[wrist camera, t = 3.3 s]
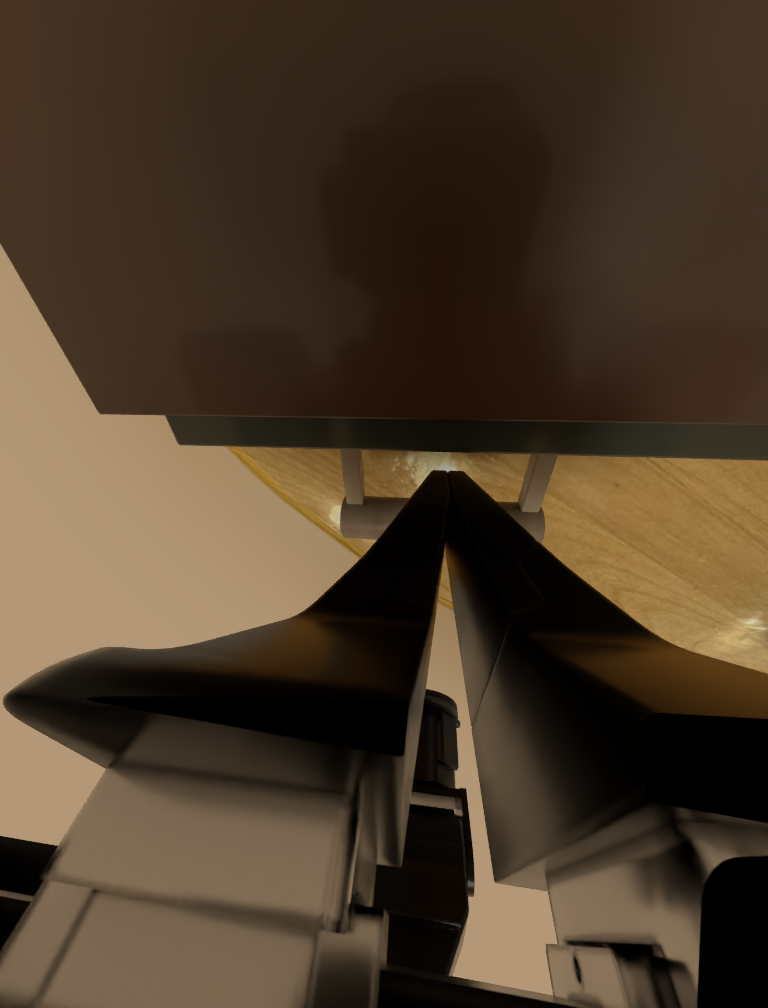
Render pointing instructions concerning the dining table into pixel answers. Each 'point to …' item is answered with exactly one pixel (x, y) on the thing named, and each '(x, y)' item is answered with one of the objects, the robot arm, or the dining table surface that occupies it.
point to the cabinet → (395, 205)
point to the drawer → (469, 450)
